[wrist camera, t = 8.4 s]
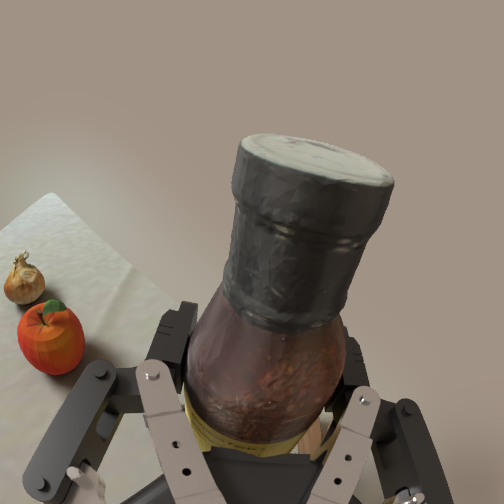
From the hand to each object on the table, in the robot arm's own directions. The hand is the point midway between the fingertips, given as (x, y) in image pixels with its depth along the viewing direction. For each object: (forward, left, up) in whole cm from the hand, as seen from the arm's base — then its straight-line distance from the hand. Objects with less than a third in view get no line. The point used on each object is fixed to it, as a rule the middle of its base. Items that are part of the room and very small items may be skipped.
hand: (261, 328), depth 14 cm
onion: (-35, +19, -24) cm, 47 cm away
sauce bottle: (0, -3, -11) cm, 12 cm away
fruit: (-23, +10, -24) cm, 35 cm away
